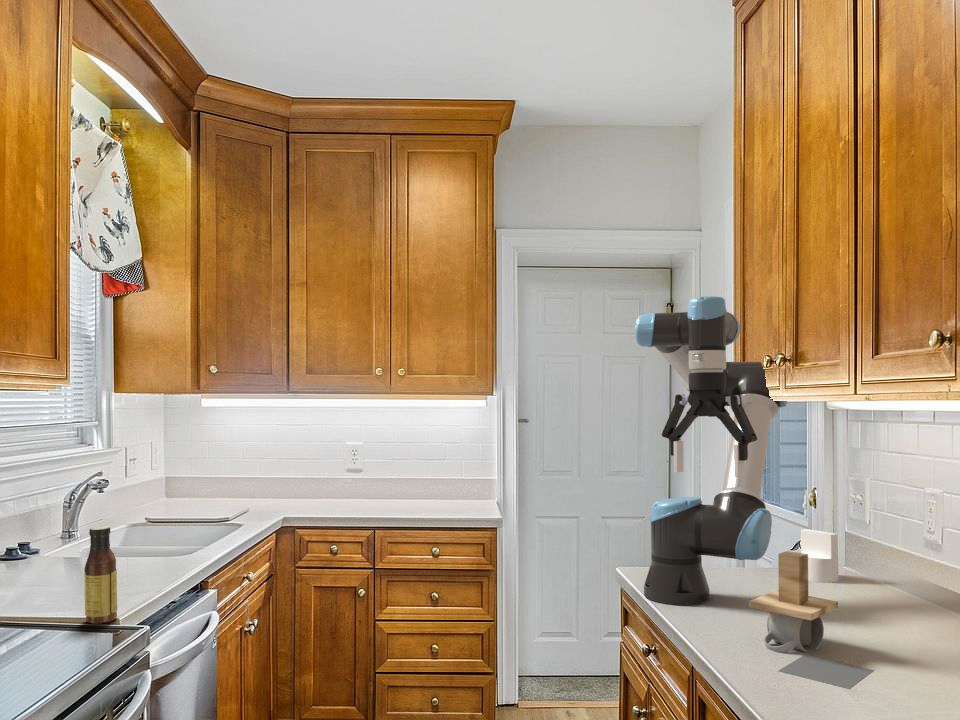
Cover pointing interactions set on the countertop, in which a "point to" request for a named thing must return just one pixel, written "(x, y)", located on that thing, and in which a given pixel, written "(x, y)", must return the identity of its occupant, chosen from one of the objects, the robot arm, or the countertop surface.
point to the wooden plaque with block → (793, 591)
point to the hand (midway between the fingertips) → (708, 474)
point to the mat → (826, 671)
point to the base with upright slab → (820, 555)
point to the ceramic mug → (793, 632)
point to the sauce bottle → (100, 578)
